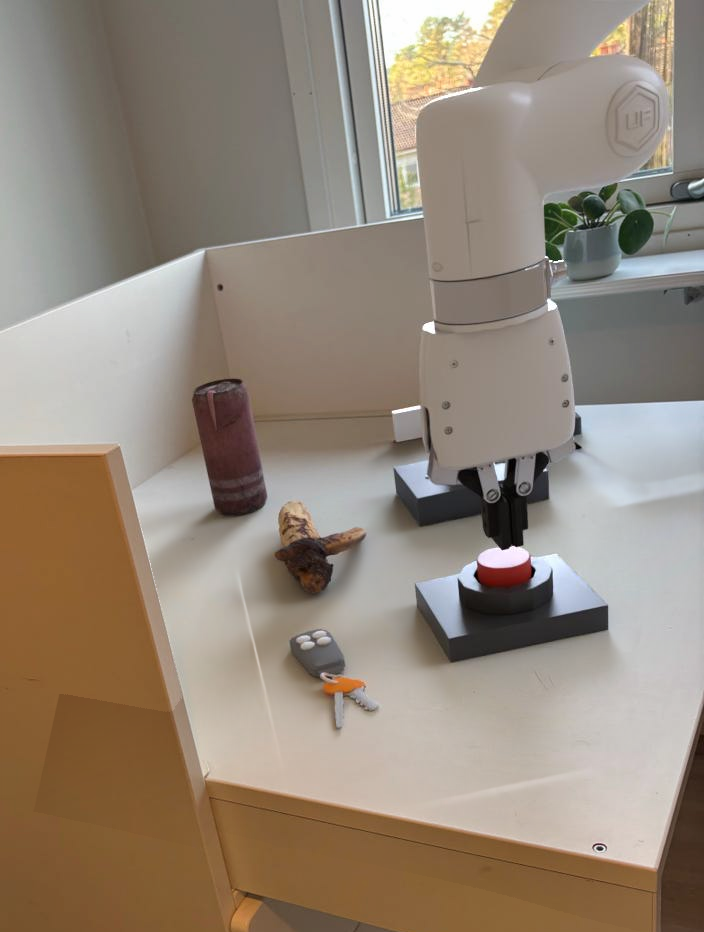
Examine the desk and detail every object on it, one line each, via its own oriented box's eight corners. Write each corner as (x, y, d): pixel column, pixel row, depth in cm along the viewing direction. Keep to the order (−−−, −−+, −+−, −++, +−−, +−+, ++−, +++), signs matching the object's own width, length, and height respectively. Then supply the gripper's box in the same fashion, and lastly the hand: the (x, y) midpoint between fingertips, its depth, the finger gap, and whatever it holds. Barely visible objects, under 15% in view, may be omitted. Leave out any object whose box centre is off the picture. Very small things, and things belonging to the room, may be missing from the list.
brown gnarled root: (386, 591, 85) (354, 514, 101) (383, 543, 83) (350, 472, 98) (283, 608, 86) (266, 528, 101) (276, 560, 83) (260, 487, 99)
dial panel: (514, 468, 103) (513, 440, 102) (549, 499, 95) (548, 468, 93) (396, 493, 104) (392, 465, 102) (420, 526, 95) (417, 497, 93)
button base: (557, 576, 81) (555, 533, 79) (608, 630, 72) (608, 583, 70) (416, 606, 81) (412, 563, 79) (451, 663, 72) (446, 617, 70)
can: (211, 520, 107) (185, 398, 101) (219, 499, 113) (195, 381, 106) (265, 513, 106) (241, 388, 99) (270, 492, 111) (248, 373, 105)
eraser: (435, 434, 118) (433, 405, 116) (396, 442, 118) (393, 413, 116) (433, 431, 119) (430, 402, 117) (394, 439, 119) (391, 411, 118)
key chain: (285, 650, 79) (282, 635, 78) (328, 638, 79) (326, 622, 78) (337, 732, 67) (335, 714, 67) (387, 716, 68) (385, 699, 67)
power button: (520, 561, 76) (519, 541, 76) (539, 582, 73) (538, 561, 72) (471, 572, 76) (469, 552, 76) (487, 593, 73) (486, 572, 72)
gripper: (575, 263, 68) (582, 503, 76) (368, 311, 68) (398, 544, 77) (622, 277, 61) (624, 538, 70) (393, 331, 62) (423, 583, 70)
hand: (506, 541), depth 73 cm, fingers closed
